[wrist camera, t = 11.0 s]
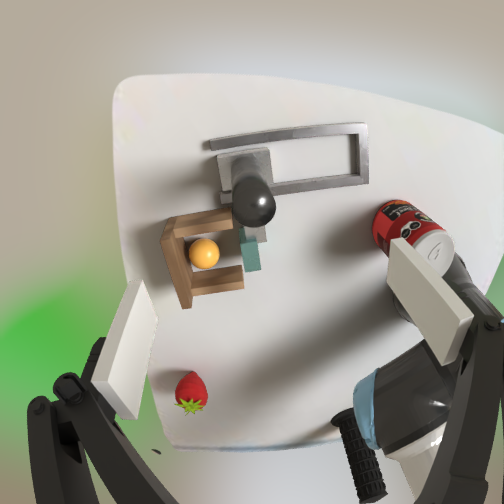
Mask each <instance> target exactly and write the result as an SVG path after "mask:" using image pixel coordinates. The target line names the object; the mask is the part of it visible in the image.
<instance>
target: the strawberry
mask: <svg viewBox="0 0 504 504" xmlns="http://www.w3.org/2000/svg"><path fill="white" fill-rule="evenodd" d="M175 397H176V401H177V402H178V404H175V405H177V406H180V407H182V408H184V409H185V412H187V411H189V412H190V411H191V412H192V413H194V414H195V410H202V409H201V408H203V407H204V406H205V405H206V403H207V399H208V394H207V390H206V386H205V384H204V383H203V381H202V380H201V378H200V377H199V376H198V375H197V373H196V372H191V373H190V374H188V375H186V376H185V377H184V378H183V379H181V380H180V381H179V383H178V385H177V388H176V390H175ZM202 411H203V410H202ZM189 412H188V413H189ZM188 413H187V414H188ZM187 414H186V415H187ZM186 415H185V416H186Z"/></svg>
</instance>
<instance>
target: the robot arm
mask: <svg viewBox="0 0 504 504" xmlns="http://www.w3.org/2000/svg"><path fill="white" fill-rule="evenodd" d="M386 282H387V284H388V285H389V286H390V288H391V289H392V291H393V301H394V305H395V307H396V309H397V310H398V312H399V313H400V315H401V316H402V317H403V318H404V319H405V320H407V321H408V322H411V323H412V324H414V325H415V326H416V327H418V329H419V331H420V332H421V334H422V335H423V337H424V338H425V339H423V340H422V341H421V342H419V343H418V344H416V345H415V346H413V347H412V348H411V349H409V350H408V351H406V352H405V353H403V354H401V355H400V356H398V357H397V358H395V359H394V360H392V361H391V362H389V363H387V364H386V365H384V366H382V367H381V368H377V369H375V371H374V372H373V373H371V374H370V375H368V376H367V377H365V378H364V379H362V380H361V381H359V382H358V383H357V385H356V386H355V389H354V392H353V406H354V412H355V417H356V420H357V424H358V427H359V430H360V433H361V435H362V437H363V438H364V439H365V442H366V444H367V446H368V447H369V448H371V449H372V450H375V449H377V450H378V449H380V448H382V450H383V452H384V455H385V457H387V458H390V459H394V460H397V461H399V462H400V465H401V467H402V469H403V472H404V474H405V477H406V479H407V481H408V484H409V486H410V488H411V491H412V493H413V496H414V498H415V502H414V504H483V503H484V501H485V498H486V494H487V491H488V482H487V481H486V480H485V474H486V470H487V466H488V462H489V459H490V454H491V450H492V445H493V441H494V435H495V430H496V424H497V417H498V412H499V403H500V399H501V407H502V420H503V436H504V317H503V316H502V314H501V313H500V312H499V311H498V310H497V309H496V308H495V306H494V305H493V304H492V303H491V302H490V301H489V300H488V299H487V298H486V297H485V296H484V295H483V293H482V292H481V291H480V290H479V289H478V288H477V287H476V286H475V285H474V284H473V282H472V280H471V277H470V275H469V273H468V271H467V270H466V267H465V264H464V262H463V260H462V258H461V257H460V256H459V255H458V254H457V253H456V252H455V253H454V257H453V260H452V263H451V265H450V267H449V268H448V270H447V271H446V273H445V274H444V275H443V276H442V277H440V275H439V274H438V273H437V272H436V271H435V270H434V269H433V268H432V267H431V266H430V265H429V264H428V263H427V262H426V261H425V260H424V258H423V257H422V256H421V255H420V254H419V253H418V252H417V251H416V250H415V249H414V248H413V247H412V246H411V245H410V244H409V243H408V242H407V241H406V240H405V239H404V238H403V237H402V238H397V239H391V242H390V253H389V263H388V272H387V280H386ZM158 320H159V319H158V316H157V314H156V312H155V309H154V307H153V304H152V302H151V299H150V297H149V294H148V292H147V289H146V287H145V284H144V282H143V279H141V280H134V281H130V282H129V284H128V286H127V289H126V291H125V293H124V296H123V298H122V300H121V303H120V305H119V307H118V310H117V312H116V315H115V317H114V320H113V322H112V325H111V327H110V330H109V332H108V335H107V337H100V338H99V339H98V340H97V341H96V342H95V344H94V345H93V347H92V349H91V352H90V356H89V357H88V359H87V363H86V365H85V367H84V370H83V373H82V375H81V378H79V377H78V376H77V375H76V374H75V373H72V372H69V373H65V374H63V375H61V376H60V377H59V378H57V380H56V381H55V383H54V385H53V393H54V394H55V395H56V396H57V397H58V399H59V400H57V401H54V402H50V401H49V400H48V399H47V398H46V397H45V396H38V397H36V398H34V399H33V400H32V401H31V402H30V403H29V405H28V409H27V425H28V442H29V455H30V463H31V473H32V480H33V486H34V492H35V498H36V503H37V504H99V501H98V498H97V495H96V491H95V488H94V485H93V482H92V478H91V474H90V471H89V467H88V463H87V459H86V455H85V450H86V452H87V454H88V456H89V458H90V460H91V462H92V463H93V465H94V467H95V469H96V470H97V472H98V474H99V476H100V477H101V479H102V481H103V482H104V484H105V486H106V487H107V489H108V491H109V492H110V494H111V495H112V497H113V498H114V500H115V501H116V503H117V504H179V503H178V502H177V501H176V500H175V499H174V498H173V497H172V495H171V494H170V493H169V492H168V491H167V489H166V488H165V487H164V486H163V485H162V484H161V482H160V481H159V480H158V479H157V477H156V476H155V475H154V474H153V472H152V471H151V470H150V469H149V467H148V466H147V465H146V464H145V462H144V461H143V460H142V458H141V457H140V455H139V454H138V453H137V451H136V450H135V448H134V447H133V446H132V444H131V443H130V441H129V440H128V439H127V437H126V436H125V434H124V433H123V431H122V430H121V428H120V427H119V425H118V424H117V422H116V421H115V420H114V419H115V414H116V413H117V414H118V416H119V417H120V418H121V419H124V420H125V419H126V420H137V419H138V414H139V409H140V403H141V398H142V393H143V387H144V383H145V377H146V373H147V368H148V363H149V359H150V354H151V350H152V345H153V341H154V337H155V332H156V328H157V324H158ZM84 449H85V450H84ZM503 477H504V476H503ZM502 504H504V478H503V493H502Z"/></svg>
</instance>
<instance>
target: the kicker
mask: <svg viewBox="0 0 504 504" xmlns="http://www.w3.org/2000/svg"><path fill="white" fill-rule="evenodd" d="M217 162H218V168H219V173H220V179H221V184H222V189H223V191H226V190H232V205H233V214H234V216H235V218H236V220H237V221H238V222H239V223H240V224H242V225H244V228H239V237H240V246H241V252H242V257H243V263H244V268H245V272H251V271H257V270H261V265H260V258H259V252H258V245H257V243H262V242H267V239H266V232H265V225H266V224H267V223H268V222H270V221H271V219H272V218H273V216H274V214H275V211H276V203H275V200H274V198H273V195H272V193H271V191H270V188H269V186H268V184H271V183H273V175H272V167H271V159H270V152H269V149H268V148H267V147H266V148H259V149H252V150H245V151H239V152H233V153H227V154H221V155H217Z"/></svg>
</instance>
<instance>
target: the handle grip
mask: <svg viewBox="0 0 504 504" xmlns="http://www.w3.org/2000/svg"><path fill="white" fill-rule="evenodd" d="M331 423H332V425H334V426H336V427H339V429H340V433H341V434H342V435H341V437H342V438H343V439H342V440H343V444H344V448H345V451H346V454H347V458H348V462H349V465H350V469H351V473H352V476H353V479H354V484H355V487H356V490H357V496H358V498H359V499H360V500H359V503H360V504H366V503H374V502H376V501H378V500H380V499H381V498H383V497H384V496H386V495H387V494H388V493H387V492H386V491H385V489H386V486H385V483H384V482H383V480H384V479H382V473H381V472H380V468H379V464H378V461H377V458H376V457H375V451H374V450H372V449H371V448H369V447H368V446H367V444H366V442H365V439H364V438H363V437H362V435H361V433H360V430H359V427H358V424H357V420H356V417H355V412H354V408H350V409H347V410H344V411H342V412H340V413H338V414H337V415H336V416H334V417H333V418H332V420H331Z"/></svg>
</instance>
